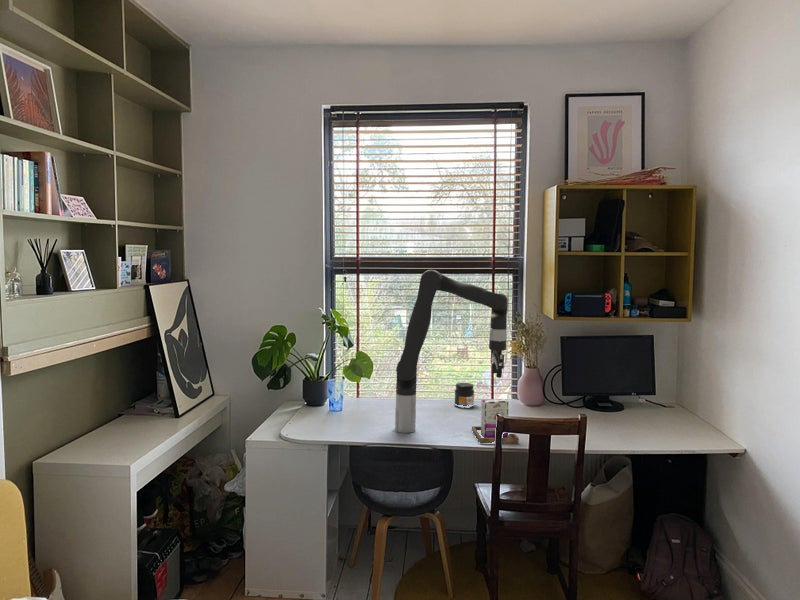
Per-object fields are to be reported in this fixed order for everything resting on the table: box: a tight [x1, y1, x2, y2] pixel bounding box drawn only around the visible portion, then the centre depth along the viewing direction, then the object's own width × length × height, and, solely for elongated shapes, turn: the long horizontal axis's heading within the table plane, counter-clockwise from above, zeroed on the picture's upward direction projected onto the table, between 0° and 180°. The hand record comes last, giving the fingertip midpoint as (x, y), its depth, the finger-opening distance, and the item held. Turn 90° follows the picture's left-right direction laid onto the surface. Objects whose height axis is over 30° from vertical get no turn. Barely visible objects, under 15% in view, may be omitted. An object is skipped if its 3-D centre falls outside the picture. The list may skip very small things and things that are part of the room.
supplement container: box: [454, 382, 475, 406], centre depth 295 cm, size 10×10×12 cm
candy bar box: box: [480, 398, 509, 438], centre depth 244 cm, size 11×5×16 cm, turn 103°
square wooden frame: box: [471, 425, 520, 445], centre depth 244 cm, size 17×17×2 cm
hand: (496, 375), depth 242 cm, fingers open, 8 cm apart
